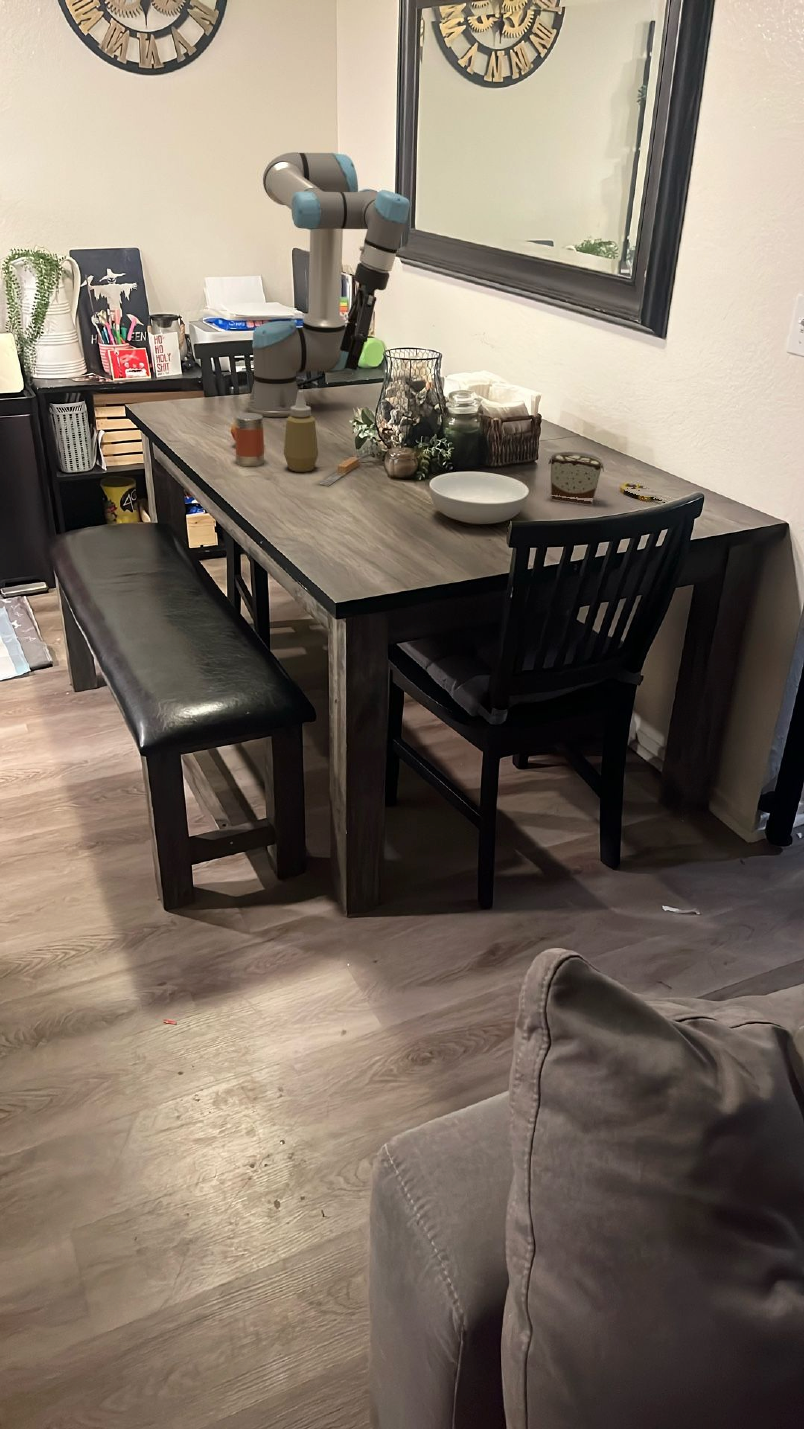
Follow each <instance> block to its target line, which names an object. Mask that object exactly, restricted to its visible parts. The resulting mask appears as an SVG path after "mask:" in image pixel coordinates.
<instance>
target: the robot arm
mask: <svg viewBox="0 0 804 1429" xmlns="http://www.w3.org/2000/svg"><path fill="white" fill-rule="evenodd" d="M357 174H358V173H357V171H356V167H355V164H354V161H353V160H352V159H351V157H350V156H348V155H346V154H344V153H343V154H342V153H337V152H336V153H335V152H296V151H293V152H286V153H283V154H280V155H279V156H276V157H275V158H273V159H272V160H271V161H270V162H269V163H268V164H267V165H266V167H265V169H264V172H263V175H262V185H263V189H264V191H265V193H266V195H267V196H268V198H270V199H271V201H273V202H274V203H276V204H278V205H279V206H286V207H287V208H288V209H289V210H290V211H291V219H292V221H293V224H294V226H295V227H296V228H297V229H305V230H309V259H308V260H309V269H308V274H309V275H308V313H307V314H306V315H305V316H304V317H303V318H302V326H298V327H297V325H296V323H295V322H294V321H291V320H284V321H283V320H277V321H271V322H266V323H262V324H260V325H258V326H256V327H255V328H254V330H253V332H252V345H251V347H252V353H253V354H252V358H253V362H252V363H253V385H252V389H251V392H250V396H249V399H248V402H247V403H248V405H247V411H248V413H257V414H260V415H262V416H263V418H288V417H289V416H291V407H292V406H295V404H296V399H297V394H298V391H300V390H299V386H300V385H303V384H306V383H310V382H312V381H315V380H317V379H320V378H322V377H323V376H324V375H325V374H326V372H330V373H331V372H332V371H333V372H334V371H342V370H343V369H344V368H345V369H350V370H352V371H357V370H358V367H359V363H360V359H361V356H362V353H363V349H364V345H365V343H367V342H368V340H369V339H368V337H369V334H370V328H371V323H372V318H373V314H374V311H375V310H374V309H375V305H376V302H377V296H375V293H376V291H384V290H386V288H387V286H388V283H389V279H390V273H389V272H391V271H392V270H393V266H394V263H395V260H396V256H397V253H398V252H397V251H398V248H399V245H400V242H401V239H402V235H403V232H404V229H405V226H406V222H407V221H408V215H409V211H410V207H411V204H410V200H409V199H408V198H407V197H405V196H403V195H401V194H399V193H397V192H394V191H390V190H386V189H381V190H379V191H377V190H375V189H372V188H363V189H361V190H359V182H358V175H357ZM344 230H366V232H365V236H364V239H363V246H361V245H360V246H359V248H358V249H359V252H360V256H359V261H360V262H358V263H357V265H356V269H355V272H354V276H353V279H354V281H355V282H356V283H358V286H357V290H356V292H355V294H354V297H353V300H352V303H351V306H350V308H349V311H348V312H347V322H346V320H345V319H344V318H343V317H342V315H341V301H342V300H341V296H342V273H343V272H342V270H343V269H342V268H343V266H342V265H343V243H344V242H343V240H344ZM323 371H324V374H323V375H320V374H318V375H316V376H313V377H310V378H308V379H304V380H301V381H299V382H297V373H305V372H307V373H308V372H323Z"/></svg>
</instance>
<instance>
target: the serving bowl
mask: <svg viewBox="0 0 804 1429" xmlns="http://www.w3.org/2000/svg"><path fill="white" fill-rule="evenodd" d="M428 488H429V495H430V499H431V501H432V503H433V505H434V506H435V508H436V509H437V510H438V511H439V513H441V514H443V515H444V516H446V517H448V518H450V519H452V520H455V521H459V522H463V523H466V524H470V525H471V524H472V525H491V524H497V523H503V522H505V521H508V520H511V519H512V518H514V517H516V516H517V515H518V514H519V513H521V511H522V510H523V509H524V507H525V505H526V503H527V501H528V497H529V494H530V490H529V487H528V486H527V485H526V484H525V483H524V482H522V481H520V480H519V479H516V478H513V477H510V476H506V475H502V474H497V473H492V472H484V471H456V472H447V473H443V474H440V475H437V476H435V477H433V478H432V479H431V480H430V481H429V484H428Z"/></svg>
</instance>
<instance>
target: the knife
mask: <svg viewBox="0 0 804 1429" xmlns="http://www.w3.org/2000/svg"><path fill="white" fill-rule="evenodd" d="M359 466H360V458H358V457H353V456H351V457H349V458H348V459H346V460H344V461H342V462H341V463H340V464H338V465H337V471H335V473H333V474H331V475H330V476H328V477H327V478H325V479H323V480H322V481H320V482H319V483H318V485H319V486H326V487H329V486H331V485H333V484H334V483H336V482H337V481H339V480H340V479H342V478H343V477H345V476H346V475H347V474H348V473H349V472H351V471H353V470H354V469H356V468H357V467H359Z"/></svg>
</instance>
